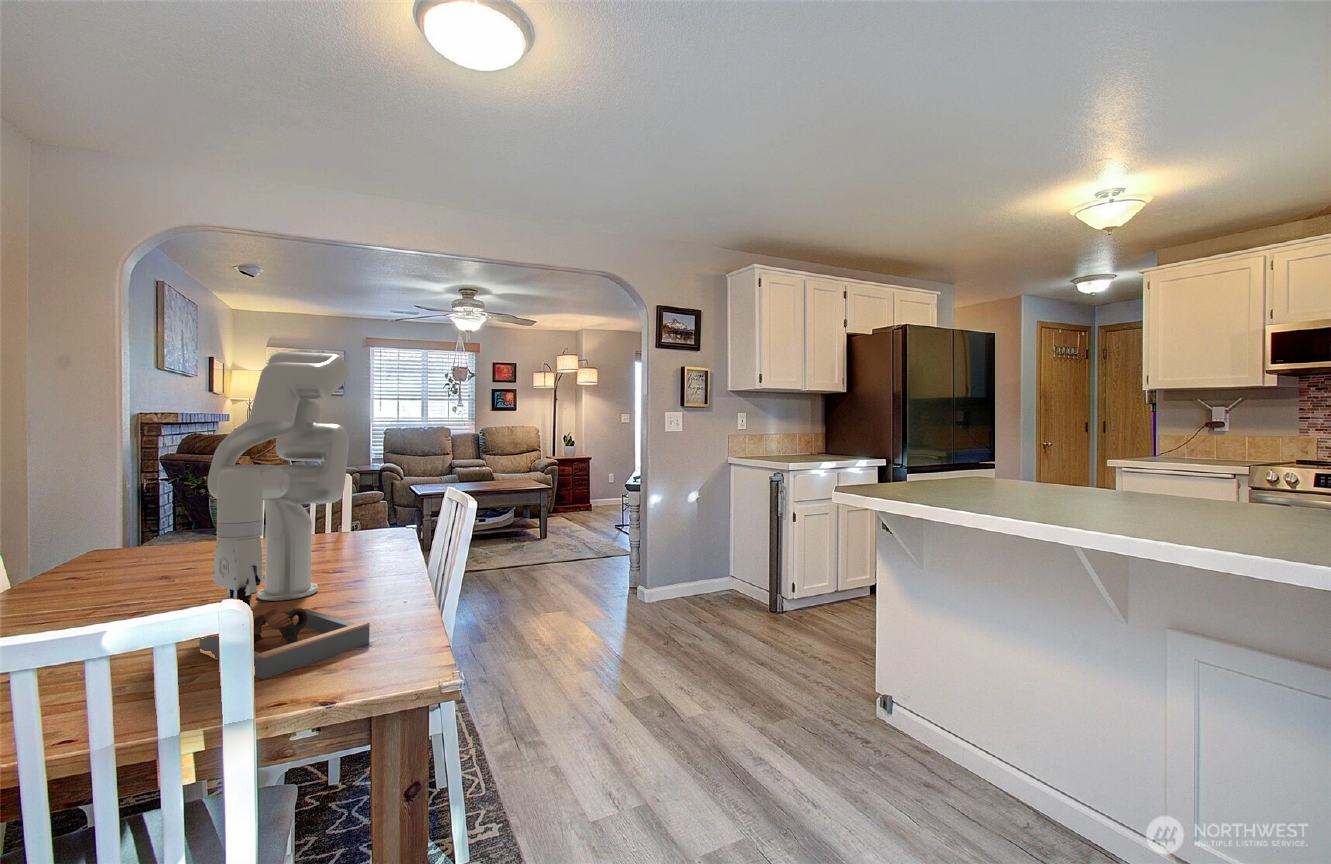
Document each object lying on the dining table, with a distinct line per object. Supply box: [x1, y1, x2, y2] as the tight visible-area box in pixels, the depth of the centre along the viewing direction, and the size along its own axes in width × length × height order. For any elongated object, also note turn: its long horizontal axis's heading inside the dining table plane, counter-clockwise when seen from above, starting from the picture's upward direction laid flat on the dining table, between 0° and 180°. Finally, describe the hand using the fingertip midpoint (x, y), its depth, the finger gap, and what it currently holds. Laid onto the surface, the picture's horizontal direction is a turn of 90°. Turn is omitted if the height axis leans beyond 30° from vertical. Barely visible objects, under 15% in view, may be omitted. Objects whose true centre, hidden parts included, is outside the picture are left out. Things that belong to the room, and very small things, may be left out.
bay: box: [198, 608, 371, 680], centre depth 111 cm, size 22×19×4 cm
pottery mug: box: [253, 607, 308, 649], centre depth 112 cm, size 12×10×8 cm
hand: (239, 620), depth 119 cm, fingers closed
